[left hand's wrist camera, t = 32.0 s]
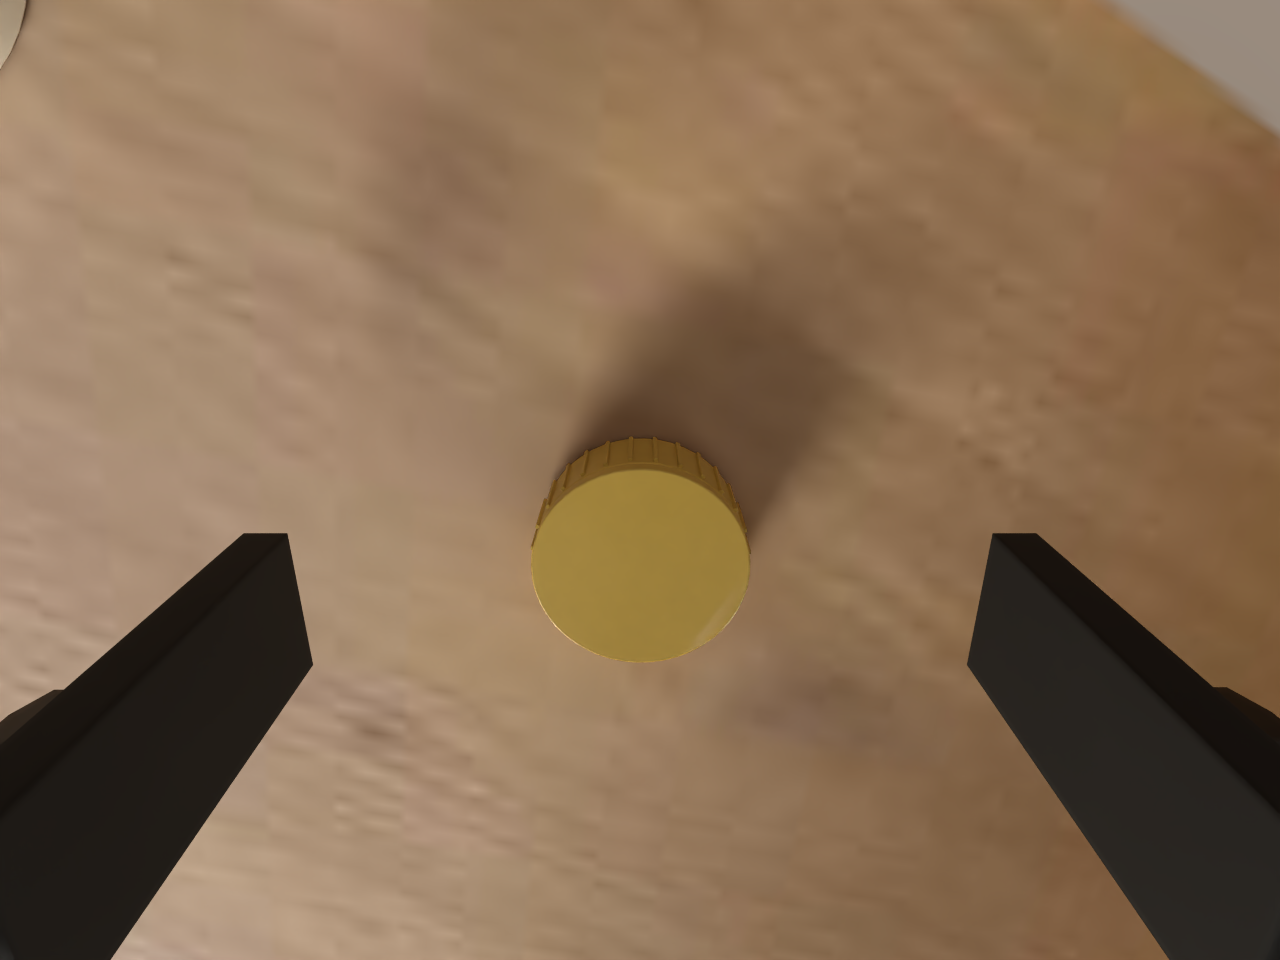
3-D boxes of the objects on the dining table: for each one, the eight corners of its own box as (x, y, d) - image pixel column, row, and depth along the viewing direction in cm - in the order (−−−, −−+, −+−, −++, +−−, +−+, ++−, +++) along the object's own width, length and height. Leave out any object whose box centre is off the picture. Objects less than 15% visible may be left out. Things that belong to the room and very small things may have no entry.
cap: (626, 393, 15) (624, 419, 13) (782, 519, 16) (800, 558, 14) (500, 542, 16) (483, 583, 14) (652, 650, 17) (654, 701, 15)
